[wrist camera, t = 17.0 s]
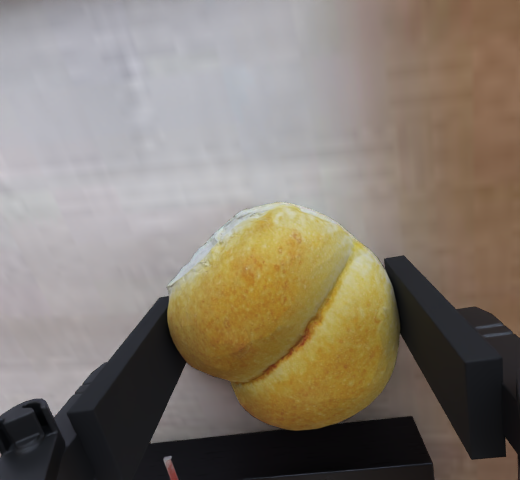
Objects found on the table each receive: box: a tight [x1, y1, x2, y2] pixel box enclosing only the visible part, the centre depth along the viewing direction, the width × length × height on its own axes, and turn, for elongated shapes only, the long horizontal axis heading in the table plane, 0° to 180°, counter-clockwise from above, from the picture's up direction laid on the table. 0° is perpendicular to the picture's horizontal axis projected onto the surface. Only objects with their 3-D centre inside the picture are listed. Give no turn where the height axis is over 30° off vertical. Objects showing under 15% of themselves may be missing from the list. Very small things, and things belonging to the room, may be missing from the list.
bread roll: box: [167, 202, 400, 431], centre depth 13 cm, size 8×9×4 cm
